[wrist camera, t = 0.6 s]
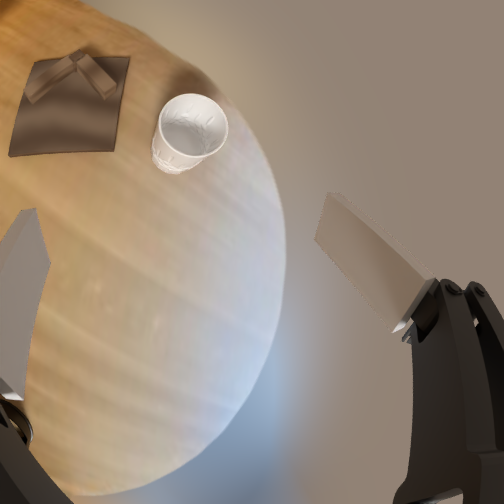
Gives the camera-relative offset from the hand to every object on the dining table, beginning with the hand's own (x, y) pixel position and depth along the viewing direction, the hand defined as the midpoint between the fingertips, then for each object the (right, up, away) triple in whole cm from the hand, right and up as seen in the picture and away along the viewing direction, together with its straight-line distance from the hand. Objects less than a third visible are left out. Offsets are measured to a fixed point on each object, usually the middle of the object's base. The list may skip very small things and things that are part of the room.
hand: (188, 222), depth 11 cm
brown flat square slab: (-23, +20, +16) cm, 34 cm away
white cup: (-8, +13, +24) cm, 29 cm away
